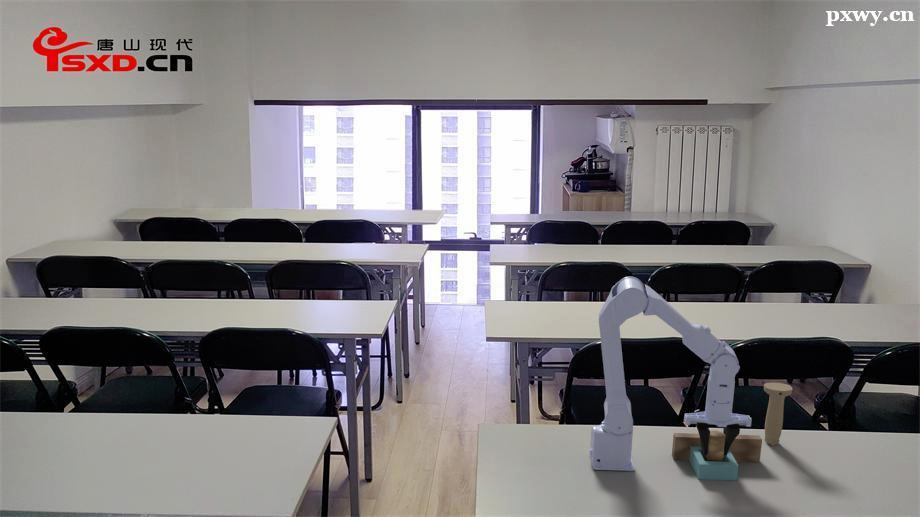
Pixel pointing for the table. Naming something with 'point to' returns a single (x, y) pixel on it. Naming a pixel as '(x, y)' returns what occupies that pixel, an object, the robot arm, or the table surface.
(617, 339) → the robot arm
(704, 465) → the socket block
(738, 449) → the wall
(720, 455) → the dowel
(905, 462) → the table surface
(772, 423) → the handle
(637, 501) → the table surface
